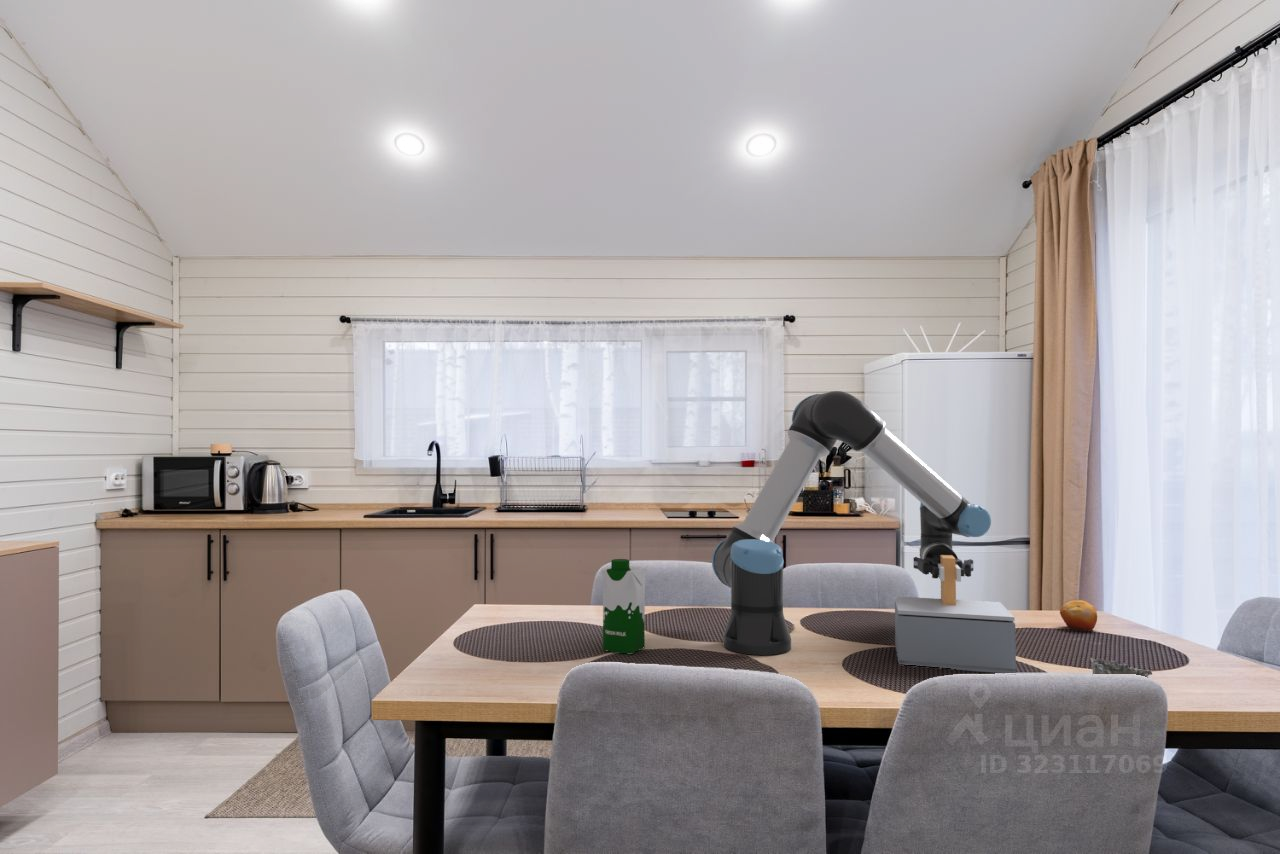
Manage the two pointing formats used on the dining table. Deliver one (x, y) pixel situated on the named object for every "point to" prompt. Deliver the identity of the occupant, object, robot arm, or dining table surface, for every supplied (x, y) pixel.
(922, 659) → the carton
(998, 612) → the box lid with handle
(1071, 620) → the fruit
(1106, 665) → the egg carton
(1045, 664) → the dining table surface
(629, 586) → the milk carton
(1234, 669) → the dining table surface
